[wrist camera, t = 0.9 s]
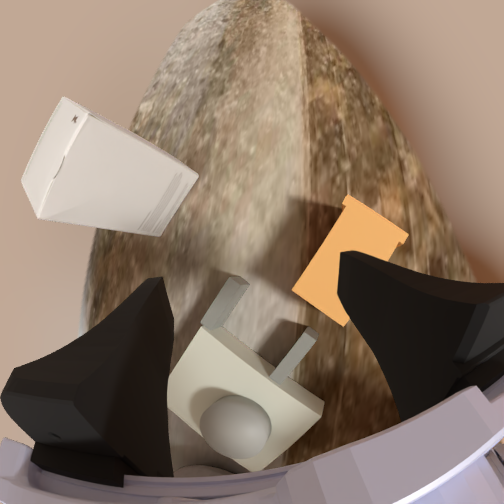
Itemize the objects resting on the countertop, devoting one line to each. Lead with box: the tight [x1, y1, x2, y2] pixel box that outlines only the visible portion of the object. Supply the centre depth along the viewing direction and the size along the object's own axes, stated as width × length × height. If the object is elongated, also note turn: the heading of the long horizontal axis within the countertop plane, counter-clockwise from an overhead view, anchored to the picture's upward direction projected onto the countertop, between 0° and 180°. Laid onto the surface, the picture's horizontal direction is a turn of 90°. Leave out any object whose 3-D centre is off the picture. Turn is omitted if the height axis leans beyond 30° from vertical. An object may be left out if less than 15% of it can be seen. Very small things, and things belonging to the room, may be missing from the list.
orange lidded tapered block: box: [292, 194, 409, 327], centre depth 20 cm, size 5×8×5 cm
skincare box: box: [21, 97, 199, 237], centre depth 22 cm, size 8×7×16 cm
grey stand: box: [167, 277, 324, 472], centre depth 22 cm, size 14×15×5 cm
